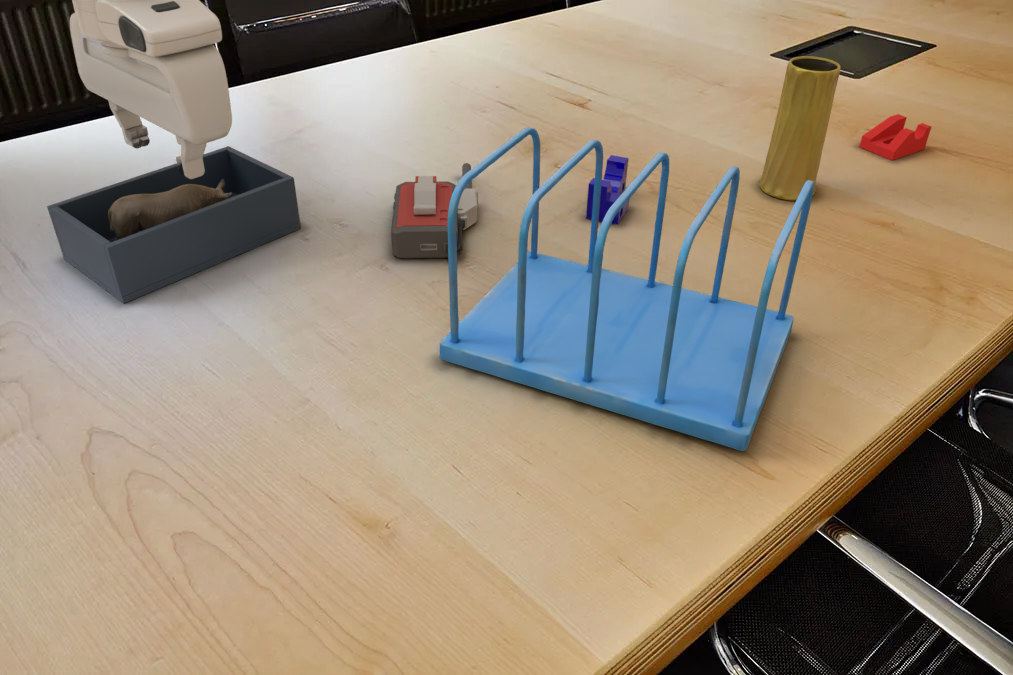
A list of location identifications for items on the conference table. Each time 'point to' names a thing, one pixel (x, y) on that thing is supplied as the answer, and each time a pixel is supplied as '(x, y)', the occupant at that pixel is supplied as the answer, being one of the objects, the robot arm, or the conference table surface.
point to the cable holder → (610, 188)
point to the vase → (800, 126)
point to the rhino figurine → (160, 207)
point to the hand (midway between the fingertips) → (164, 159)
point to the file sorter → (627, 319)
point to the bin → (177, 225)
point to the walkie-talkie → (429, 216)
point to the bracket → (895, 138)
